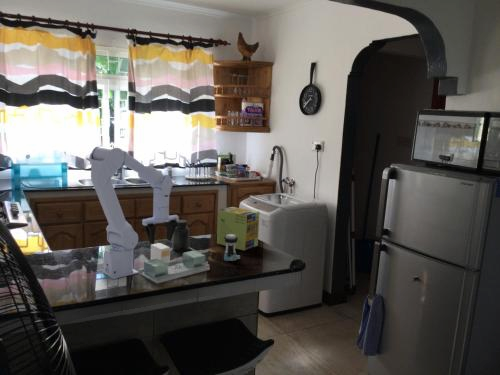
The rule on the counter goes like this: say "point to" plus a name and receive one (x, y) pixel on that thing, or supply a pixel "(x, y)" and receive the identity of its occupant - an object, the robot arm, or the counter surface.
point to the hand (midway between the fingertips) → (160, 241)
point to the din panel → (174, 267)
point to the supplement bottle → (181, 236)
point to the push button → (230, 247)
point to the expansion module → (160, 252)
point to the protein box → (238, 227)
